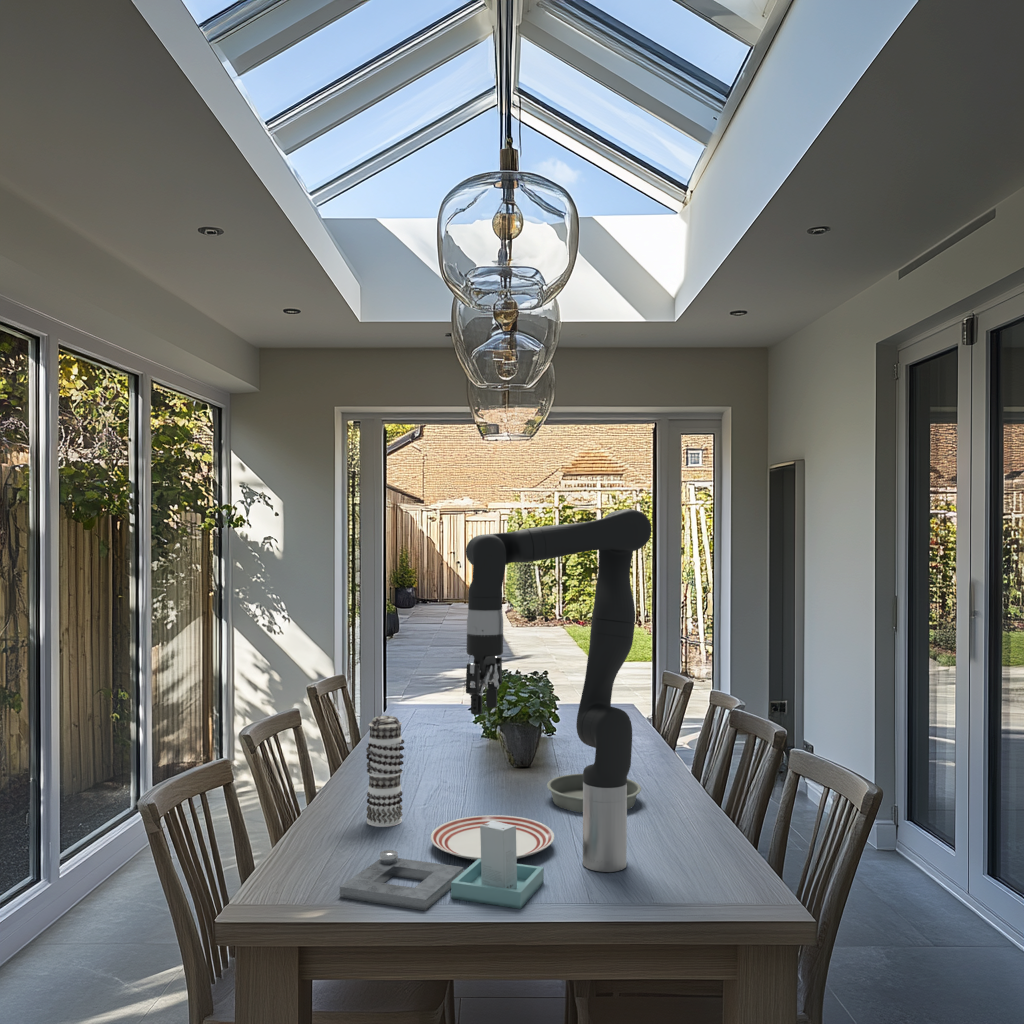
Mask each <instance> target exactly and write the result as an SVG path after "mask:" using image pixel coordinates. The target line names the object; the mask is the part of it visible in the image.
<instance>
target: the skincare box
mask: <svg viewBox="0 0 1024 1024" xmlns="http://www.w3.org/2000/svg"><path fill="white" fill-rule="evenodd" d="M480 837H481V883H482V885H487V886H494V887H501V888H508V889H516V888H517V864H518V863H517V862H518V859H517V853H516V826H514V825H510V824H505V823H501V822H497V821H490V822H488V823H485V824H483V825H481V826H480Z"/></svg>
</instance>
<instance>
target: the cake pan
mask: <svg viewBox="0 0 1024 1024" xmlns="http://www.w3.org/2000/svg"><path fill="white" fill-rule="evenodd" d="M546 787H547V789H548V791H550V792H551V797H552V801H553V803H554V805H556V806H557V807H559V808H561V809H563V808H564V809H563V810H566V809H567V811H570V810H571V811H570V812H574V811H576V812H575V813H581V812H583V773H573V774H565V775H561V776H557V777H554V778H552V779H550V780H549V781H548V782H547V784H546ZM640 792H642V787H641V785H640V784H639V783H638V782H636V781H634V780H632V779H629V778H627V809H628V810H630V809H631V807H632V808H633V807H634V806H635V803H636V799H637V796H638V794H640Z"/></svg>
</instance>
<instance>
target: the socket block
mask: <svg viewBox="0 0 1024 1024" xmlns="http://www.w3.org/2000/svg"><path fill="white" fill-rule="evenodd" d="M398 854H399V853H398V850H394V849H393V850H392V849H391V850H390V849H389V850H387V849H386V850H382V851H381V852H380V853H379V859H378V860H377V861H375V862H374V863H372V864H370V865H369V866H367V867H366V868H365V869H363V870H362V871H360V872H358V874H356V875H354V876H353V877H351V878H350V879H349V880H347V881H345V882H344V883H343V884H341V885H340V886H339V898H343V899H349V900H356V901H360V902H361V901H362V902H368V903H373V904H381V905H386V906H392V907H393V906H394V907H400V908H405V909H413V910H418V911H428V910H429V908H430V907H432V906H433V905H434V904H435V903H436V902H437V901H439V900H440V899H441V898H442V897H443V896H445V894H446V893H448V892H449V891H451V882H452V881H453V880H454V879H456V878H457V877H458V876H459V875H460V874H461V873H462V872H464V871H465V869H464V866H459V865H450V864H443V863H437V862H430V861H429V862H428V861H421V860H416V859H407V858H406V859H405V858H399V857H398ZM393 877H399V878H403V879H411V880H419V881H421V882H420V883H418V884H417V885H416V886H415V887H414V886H413V887H412V886H411V887H410V886H407V885H405V886H404V885H399V884H391V883H386V882H388V881H389V880H391V878H393Z"/></svg>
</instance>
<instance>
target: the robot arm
mask: <svg viewBox="0 0 1024 1024" xmlns="http://www.w3.org/2000/svg"><path fill="white" fill-rule="evenodd" d="M651 536H652V524H651V522H650V520H649V518H648V516H646V515H645V514H644V513H643V512H641V511H639V510H637V509H632V508H625V509H619V510H614V511H611V512H610V513H608V514H606V515H605V516H604V517H603V518H599V519H595V520H590V521H589V520H588V521H582V522H574V523H566V524H553V525H542V526H535V527H529V528H523V529H519V530H514V531H509V532H508V531H507V532H498V533H487V534H480V535H476V536H474V537H473V538H471V539H470V540H469V541H468V543H467V544H466V547H465V556H466V558H467V560H468V562H469V563H470V564H471V565H472V579H471V583H470V584H469V586H468V587H469V588H468V597H467V598H468V599H467V602H468V603H467V605H468V606H467V607H468V608H467V616H466V617H467V618H466V654H467V655H469V656H473V663H467V664H466V670H465V671H466V673H465V675H466V676H465V693H466V694H469V696H470V714H471V715H474V716H475V715H476V716H477V715H478V716H480V715H482V714H483V693H484V690H485V688H486V698H485V705H486V708H490V709H491V708H492V709H495V708H497V707H498V690H499V688H500V686H502V684H503V672H502V671H503V664H502V663H503V659H502V658H503V657H502V655H503V653H504V616H503V583H504V579H505V574H506V572H505V571H506V565H507V564H513V563H520V564H521V563H533V562H538V561H545V560H550V559H556V558H560V557H561V558H562V557H565V556H570V555H571V556H572V555H574V554H579V553H586V552H592V551H593V552H594V551H598V571H597V578H596V579H597V580H596V587H595V592H594V593H595V595H594V602H593V608H592V609H593V610H592V615H591V616H592V617H591V623H590V625H591V626H590V635H589V647H588V654H587V661H586V669H585V671H586V672H585V678H584V683H583V686H582V692H581V696H580V701H579V705H578V710H577V711H578V712H577V716H576V724H575V725H576V734H577V736H578V738H579V740H580V741H581V742H582V743H583V744H584V745H586V746H588V747H591V748H595V754H594V755H595V756H594V757H595V758H594V762H593V763H592V764H589V765H586V766H585V767H584V769H583V772H582V774H583V813H582V865H583V867H585V868H586V869H587V870H591V871H594V872H595V871H596V872H601V873H613V872H618V871H622V870H625V868H626V867H627V859H628V858H627V852H628V851H627V848H628V847H627V846H628V842H627V841H628V839H627V838H628V833H627V832H628V823H627V822H628V817H627V816H628V810H627V779H628V775H629V772H630V770H631V766H632V765H631V764H632V751H633V726H632V721H631V718H630V716H629V714H628V713H627V712H626V711H624V710H623V709H621V708H619V707H614V706H611V705H612V696H613V695H612V694H613V687H614V684H615V683H614V682H615V680H616V678H617V675H618V673H619V671H620V670H621V668H622V667H623V665H624V663H625V661H626V659H627V658H628V656H629V654H630V652H631V650H632V646H633V641H634V634H635V627H636V625H635V623H636V608H635V601H634V597H633V596H634V595H633V592H632V585H631V566H632V559H633V554H634V552H636V551H638V550H640V549H642V548H643V547H644V546H645V545H647V543H648V542H649V540H650V538H651Z"/></svg>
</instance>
